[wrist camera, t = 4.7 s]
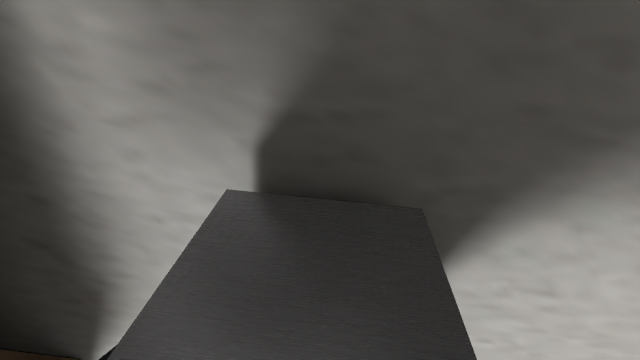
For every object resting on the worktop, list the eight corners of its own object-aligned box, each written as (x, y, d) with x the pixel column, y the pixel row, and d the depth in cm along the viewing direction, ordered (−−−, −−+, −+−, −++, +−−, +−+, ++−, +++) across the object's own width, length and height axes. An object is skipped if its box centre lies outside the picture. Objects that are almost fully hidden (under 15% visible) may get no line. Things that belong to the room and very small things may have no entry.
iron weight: (422, 209, 8) (514, 464, 3) (388, 335, 10) (417, 580, 6) (227, 189, 8) (75, 404, 4) (239, 317, 10) (157, 540, 6)
